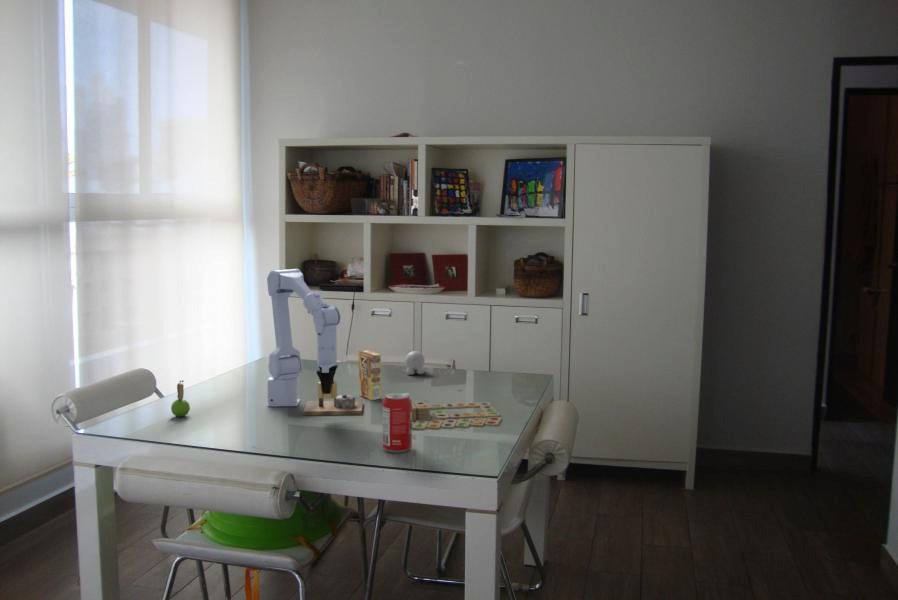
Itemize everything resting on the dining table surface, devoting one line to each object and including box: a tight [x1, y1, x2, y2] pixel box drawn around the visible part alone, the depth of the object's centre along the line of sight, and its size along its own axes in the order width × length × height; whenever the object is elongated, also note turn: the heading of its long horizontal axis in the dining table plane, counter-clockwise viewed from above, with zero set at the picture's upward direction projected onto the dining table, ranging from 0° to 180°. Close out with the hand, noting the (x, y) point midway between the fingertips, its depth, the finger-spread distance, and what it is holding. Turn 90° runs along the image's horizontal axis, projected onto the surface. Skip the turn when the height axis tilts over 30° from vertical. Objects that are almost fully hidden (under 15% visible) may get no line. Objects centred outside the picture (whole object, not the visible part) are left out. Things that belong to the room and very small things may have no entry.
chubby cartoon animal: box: [404, 350, 426, 376], centre depth 320 cm, size 8×12×9 cm, turn 4°
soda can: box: [381, 392, 413, 454], centre depth 222 cm, size 8×8×15 cm
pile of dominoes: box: [412, 401, 503, 431], centre depth 257 cm, size 35×27×6 cm
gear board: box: [302, 394, 364, 416], centre depth 264 cm, size 18×13×5 cm
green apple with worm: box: [170, 380, 191, 418], centre depth 254 cm, size 5×6×12 cm
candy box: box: [358, 350, 382, 401], centre depth 280 cm, size 9×4×15 cm, turn 33°
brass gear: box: [317, 380, 338, 400], centre depth 253 cm, size 6×6×4 cm
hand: (327, 391), depth 253 cm, fingers closed on brass gear, 6 cm apart
